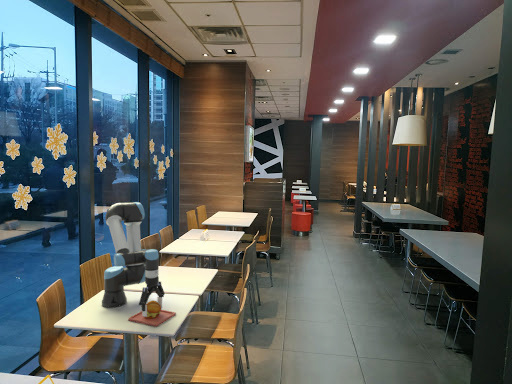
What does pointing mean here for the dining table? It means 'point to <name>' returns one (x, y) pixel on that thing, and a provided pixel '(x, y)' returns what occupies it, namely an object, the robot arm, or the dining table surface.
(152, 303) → the cheeseburger
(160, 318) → the tray
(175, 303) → the dining table surface
